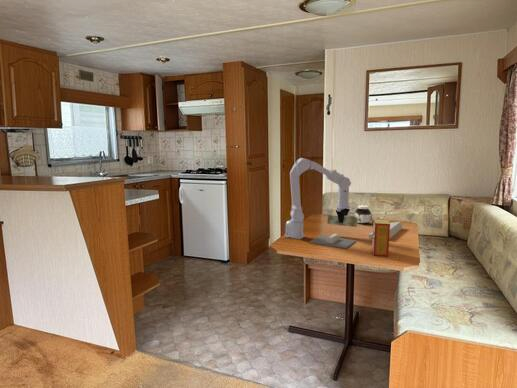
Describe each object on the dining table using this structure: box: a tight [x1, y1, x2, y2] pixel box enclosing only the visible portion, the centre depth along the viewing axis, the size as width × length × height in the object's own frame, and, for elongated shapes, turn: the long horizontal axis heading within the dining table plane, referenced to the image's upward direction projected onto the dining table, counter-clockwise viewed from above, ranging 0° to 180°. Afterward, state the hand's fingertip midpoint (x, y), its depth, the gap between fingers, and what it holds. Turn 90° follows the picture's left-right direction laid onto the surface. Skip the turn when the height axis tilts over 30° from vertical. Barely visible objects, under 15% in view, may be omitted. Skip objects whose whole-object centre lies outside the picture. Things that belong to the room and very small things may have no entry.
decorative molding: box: [367, 221, 403, 240], centre depth 216 cm, size 34×5×10 cm
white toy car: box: [354, 204, 376, 226], centre depth 240 cm, size 12×11×12 cm
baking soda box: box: [371, 218, 391, 257], centre depth 176 cm, size 10×6×16 cm
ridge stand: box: [309, 233, 357, 250], centre depth 195 cm, size 20×16×4 cm
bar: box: [326, 213, 358, 228], centre depth 206 cm, size 16×4×5 cm, turn 61°
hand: (342, 222), depth 206 cm, fingers closed on bar, 4 cm apart
